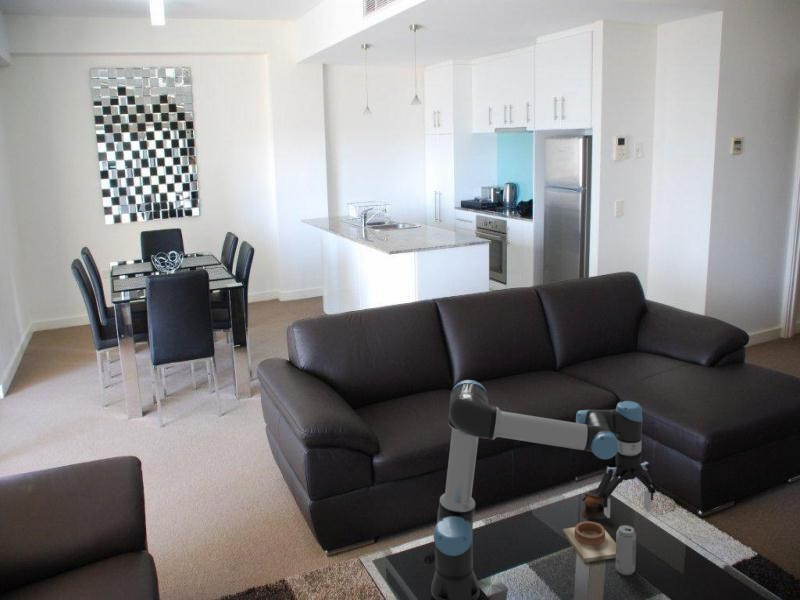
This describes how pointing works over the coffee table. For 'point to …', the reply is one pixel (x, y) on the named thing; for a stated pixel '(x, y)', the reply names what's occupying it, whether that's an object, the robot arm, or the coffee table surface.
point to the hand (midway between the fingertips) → (627, 512)
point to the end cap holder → (591, 541)
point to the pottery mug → (592, 506)
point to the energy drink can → (625, 550)
